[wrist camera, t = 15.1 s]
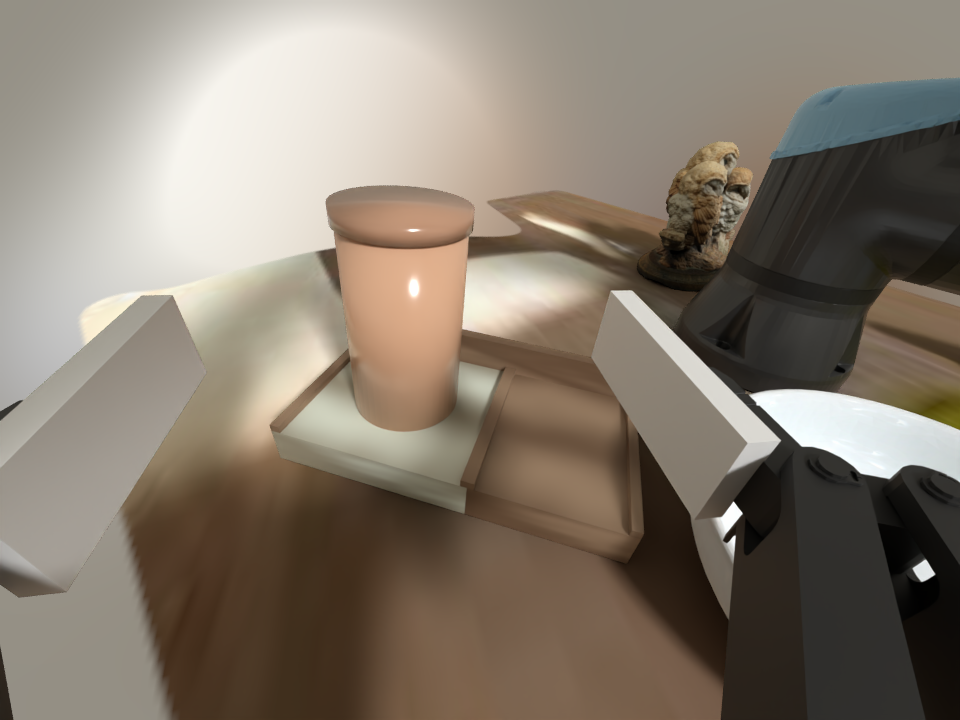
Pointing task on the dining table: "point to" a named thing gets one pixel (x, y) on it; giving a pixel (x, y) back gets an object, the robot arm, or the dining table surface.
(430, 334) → the canister
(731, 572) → the serving bowl
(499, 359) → the divided tray
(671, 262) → the owl figurine
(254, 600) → the dining table surface
